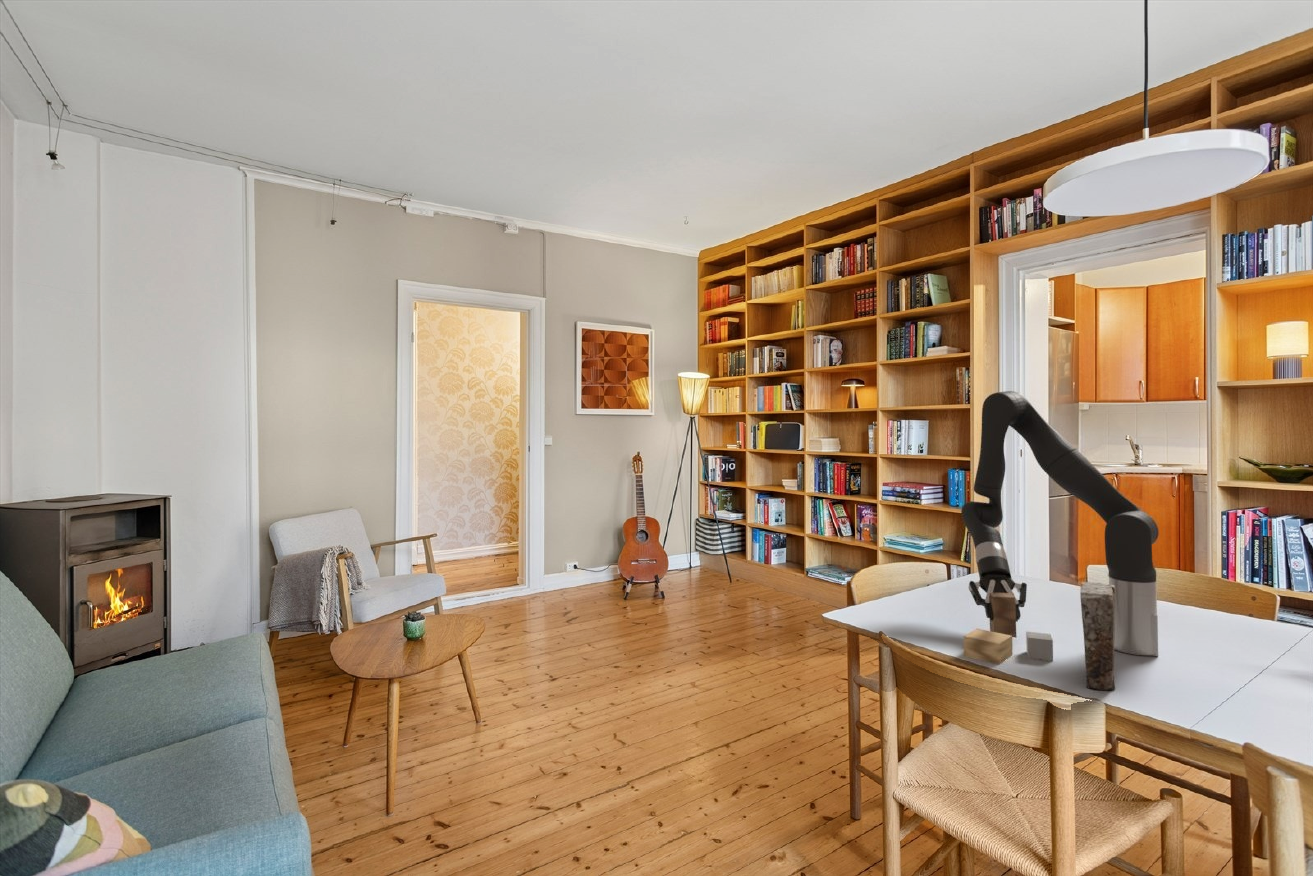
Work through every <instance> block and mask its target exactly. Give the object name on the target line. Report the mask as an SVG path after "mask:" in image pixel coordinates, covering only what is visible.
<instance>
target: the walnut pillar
mask: <svg viewBox="0 0 1313 876" xmlns="http://www.w3.org/2000/svg"><path fill="white" fill-rule="evenodd" d="M1014 596H1015V595H1014ZM1014 596H1013V595H1012V594H1010V593H1006V592H993V593H990V600H991V601H990V604H991V605H992V610H993V615H994V618H993V620H990V619H989V631H991V632H996V633H1001V634H1006V635H1011V636H1012V638H1017V622H1016V608H1015V598H1016V596H1015V597H1014Z"/></svg>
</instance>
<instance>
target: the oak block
mask: <svg viewBox="0 0 1313 876" xmlns="http://www.w3.org/2000/svg"><path fill="white" fill-rule="evenodd" d="M1012 655H1013V656H1014V653H1013V637H1012V636H1011V635H1006V634H1001V633H996V632H991V631H990V630H985V629H982V628H981V629H980V628H975V629H974V630H971V631H970V632H968V633H965V635H963V657H967V658H970V659H976V660H979V659H980V661H984V662H988V663H992V664H995V665H1002V663H1004V662H1006V661H1007V660H1009V659H1011V658H1012V657H1013V656H1012ZM1011 656H1012V657H1011ZM1006 659H1007V660H1006ZM1005 660H1006V661H1005Z"/></svg>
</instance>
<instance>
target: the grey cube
mask: <svg viewBox="0 0 1313 876" xmlns="http://www.w3.org/2000/svg"><path fill="white" fill-rule="evenodd" d="M1025 634H1026V635H1025V637H1026V638H1025V640H1026V643H1025V644H1026V654H1027V655H1026V656H1027V659H1029V658H1031V659H1030V660H1037V659H1044V660H1043V661H1046V660H1050V661H1049V662H1054V640H1053V637H1052V634H1051V633H1045V632H1036V631H1033V632H1032V631H1025Z"/></svg>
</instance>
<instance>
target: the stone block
mask: <svg viewBox="0 0 1313 876" xmlns="http://www.w3.org/2000/svg"><path fill="white" fill-rule="evenodd" d="M1079 592H1080V595H1079V596H1080V608H1081V621H1082V622H1081V623H1082V630H1083V631H1082V633H1083V646H1084V661H1085V662H1084V663H1085V669H1086V671H1085V672H1086V674H1085V675H1086V676H1085V677H1086V683H1085V684H1086V685H1085V686H1086V689H1090V690H1095V691H1096V690H1097V691H1105V690H1106V691H1109V690H1111V691H1113V690H1115V689H1116V686H1115V676H1114V673H1115V672H1114V671H1115V670H1114V669H1115V668H1114V667H1115V649H1114V641H1115V586H1114V585H1110V584H1109V583H1101V582H1090V581H1082V582H1081V583H1080V591H1079Z"/></svg>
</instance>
